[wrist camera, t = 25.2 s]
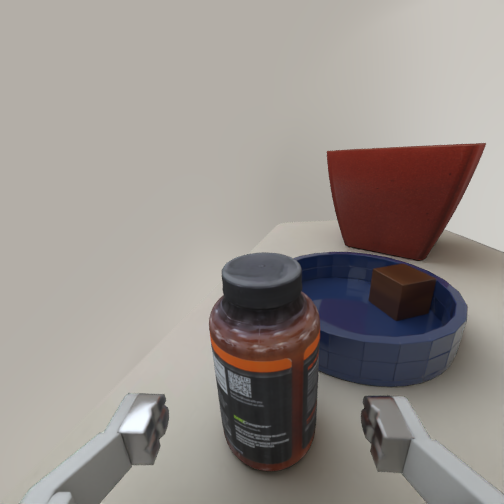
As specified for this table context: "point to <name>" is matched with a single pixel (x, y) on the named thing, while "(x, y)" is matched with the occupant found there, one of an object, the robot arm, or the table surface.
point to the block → (401, 291)
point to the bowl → (378, 323)
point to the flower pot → (399, 194)
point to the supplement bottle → (266, 360)
